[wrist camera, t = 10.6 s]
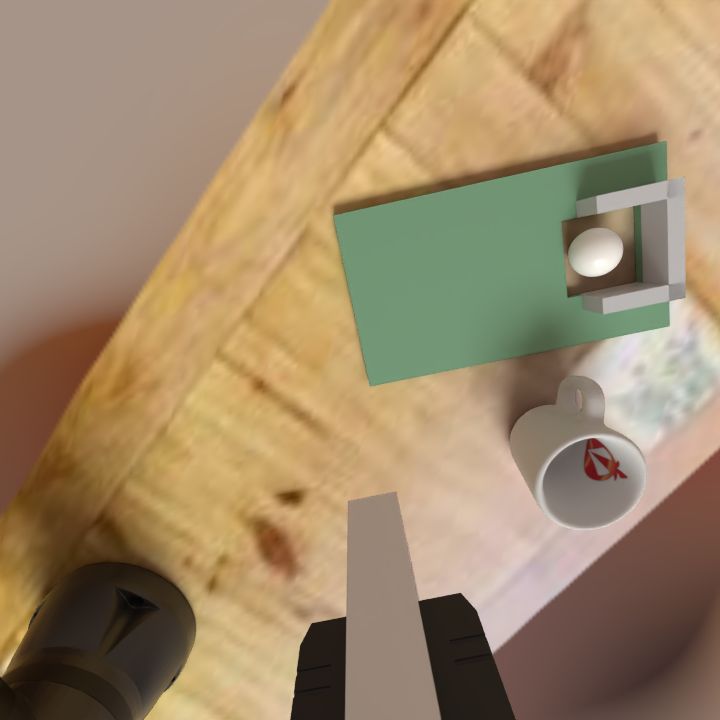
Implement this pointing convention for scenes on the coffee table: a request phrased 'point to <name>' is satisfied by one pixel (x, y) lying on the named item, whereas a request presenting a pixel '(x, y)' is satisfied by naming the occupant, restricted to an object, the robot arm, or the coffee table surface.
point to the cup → (578, 459)
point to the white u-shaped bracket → (646, 246)
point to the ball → (595, 252)
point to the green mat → (484, 269)
